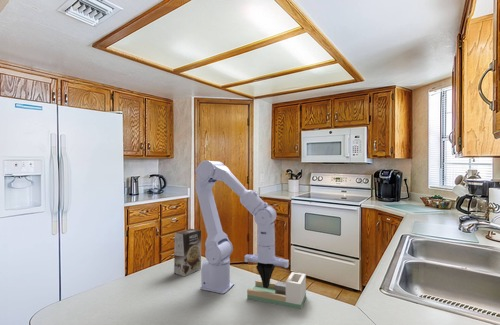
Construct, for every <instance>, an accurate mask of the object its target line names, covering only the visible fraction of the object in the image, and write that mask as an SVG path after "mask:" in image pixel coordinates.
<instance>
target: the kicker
mask: <svg viewBox="0 0 500 325" xmlns="http://www.w3.org/2000/svg"><path fill="white" fill-rule="evenodd" d="M275 283H276V285H275V293H276V294H281V295H286V281H285V282H283V281H277V282H275Z"/></svg>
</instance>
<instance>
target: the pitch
mask: <svg viewBox="0 0 500 325" xmlns="http://www.w3.org/2000/svg"><path fill="white" fill-rule="evenodd" d="M254 283H255V284H254V286H253V288H247V290H246V297H247V299H249V300H254V301H259V302H264V303H267V304H274V305H279V306H284V307H287V308H288V307H289V308H293V309H298V310H302V307H303V306H304V303H305V300H306V298H307V274H306V273H303V272H296V271H295V272H294V271H292V272H290V274H289V275H288V277H287V279H286V280H285V283H286V295H281V294H276V293H275V285H276V283H277V282H270V284H269V287H268V288H263V283H262V280H259V279H256V280H255V281H254Z"/></svg>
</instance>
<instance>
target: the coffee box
mask: <svg viewBox="0 0 500 325" xmlns="http://www.w3.org/2000/svg"><path fill="white" fill-rule="evenodd" d="M173 249H174V251H173V252H174V259H173V264H174V265H173V273H174V274H175V273H176V274H175V275H178V276H182V277H186V276H189V275H191V274H193V272H194V273H195V271H196V272H198V271H200V270H201V269H202V229H197V228H196V229H194V228H188V229H185V230H180V231H176V232H174V248H173ZM199 269H200V270H199ZM197 270H198V271H197Z"/></svg>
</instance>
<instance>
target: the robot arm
mask: <svg viewBox="0 0 500 325" xmlns="http://www.w3.org/2000/svg"><path fill="white" fill-rule="evenodd" d="M195 174H196V179H195V186H194V188H195V191H196V195H197V199H198V203H199V207H200V211H201V215H202V219H203V223H204V228H205V230H206V234H207V237H206V240H205V242H204V246H205V252H204V256H205V260H204V261H203V263H202V264H201V269H200V271H201V272H200V273H201V280H200V281H201V283H200V284H201V286H200V287H199V289H200V290H204V291H207V292H212V293H213V292H214V293H218V294H223V295H224V294H226V293H227V292H228V291H229V290H230V289H231V288H233V287H234V286H235V282H232V281H230V280H231V270H230V269H231V266H230V265H231V259H230V257H231V255H232V253H233V250H234V248H233V247H234V246H233V244H232V242H231V241H230V238H229V237H228V234H227V233H225V231H223V227H222V223H221V220H220V216H219V211H218V209H217V208H218V207H217V204H216V201H215V196H214V193H213V187H214V186H215V184H216V182H218V181H220V182H223V183H225V184H226V186H227V187H229V188H230V189H231V190H232V191H233V192H234V193H235V194H236V195H237V196H238V197H239V202H240V204H241V205H242V206H243V207H244V208H245V209H246V210H247V211H248V212H249V213H250V214H251V215H252V216H253V217H254V222H255V223H256V225H257V227H256V228H257V229H256V235H257V236H256V237H257V239H256V240H257V241H256V242H257V244H256V245H257V248H256V250H257V252H256V253H257V254H245V255H244V262H245V263H248V262H250V263H255V264H256V263H257V265H256V267H255V268H256V270H257V272H258V274H259V276H260V279H261V281H262V283H263V288H268V287H269V284H270V281H271V278H272V276H273V275H272V274H273V272H274V271H275V268H276V267H283V268H285V269H288V268H289V266H290V265H289V264H290V262H289V259H285V258H281V257H278V256H276V233H275V232H276V230H275V221H276V219H277V216H278V215H277V211H276V209H275V208H274V207H273V206H272V205H269V203H268V202H267V201H264V199H263V200H262V198H261V197H260V196H259V193H258V192H257V191H254V190H253V189H247V187H245V186H244V185H243V183H241V181H240V180H239V179H238V178H237V177H236V176H235V175H234V174H233V173H232V171H231V170H230V169H229V167H228V166H226V165H225V164H224V163H223V162H222V161H219V160H216V161H215V160H201V161H200V163H199V164H198V166H197V167H196V168H195Z"/></svg>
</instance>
